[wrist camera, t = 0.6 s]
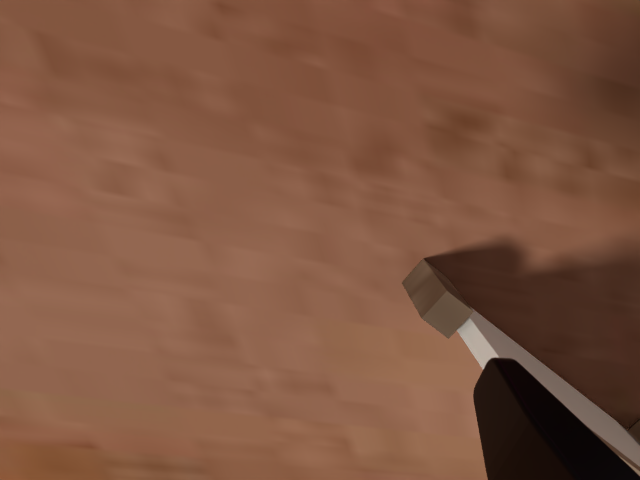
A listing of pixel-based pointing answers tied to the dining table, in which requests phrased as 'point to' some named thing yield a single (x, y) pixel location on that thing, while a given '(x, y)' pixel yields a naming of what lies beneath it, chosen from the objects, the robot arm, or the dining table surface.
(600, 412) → the gate
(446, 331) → the gate frame
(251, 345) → the dining table surface
